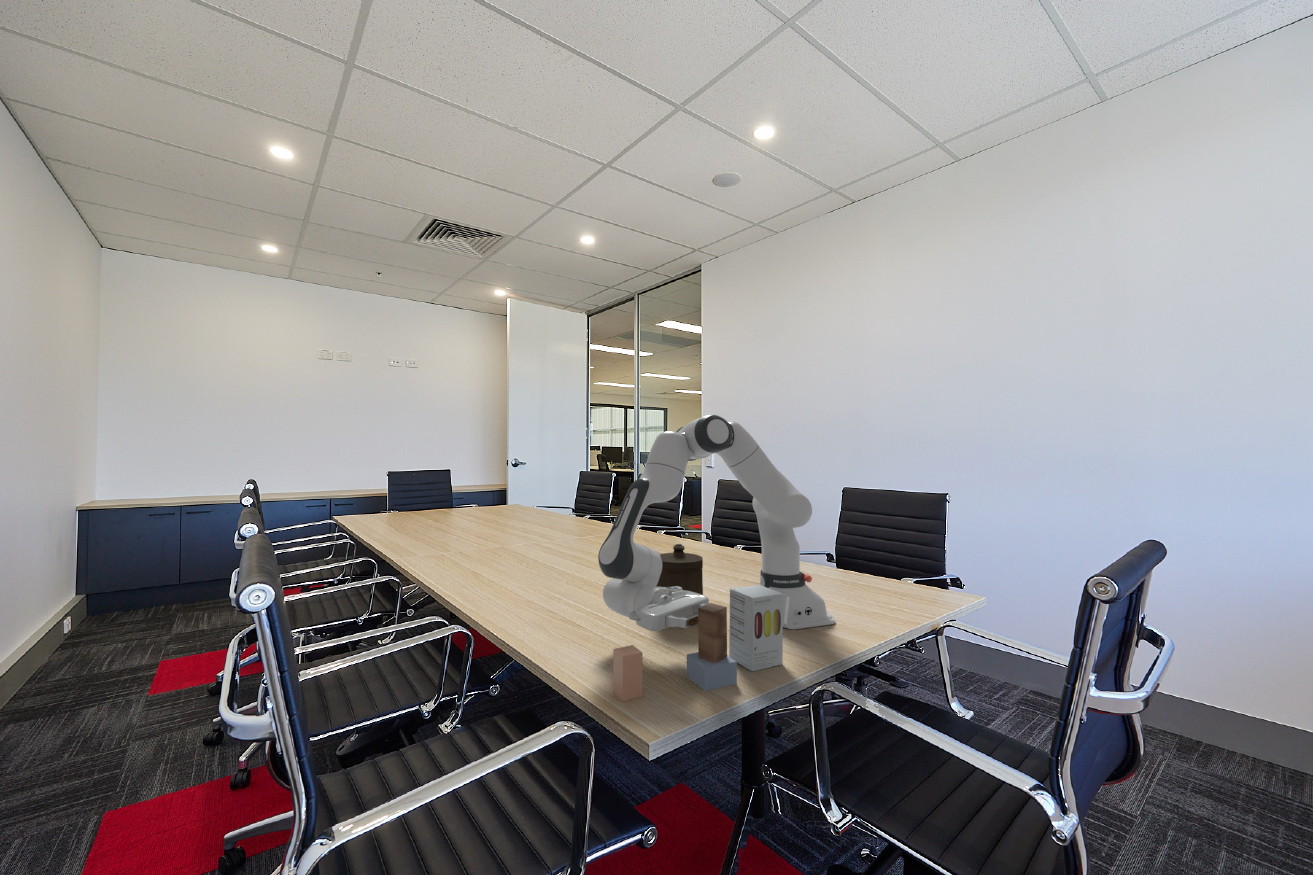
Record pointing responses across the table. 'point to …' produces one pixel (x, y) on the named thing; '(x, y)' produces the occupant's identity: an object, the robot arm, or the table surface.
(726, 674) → the slate block
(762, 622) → the supplement box
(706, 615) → the walnut post
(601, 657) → the table surface
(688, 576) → the wooden container
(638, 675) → the terracotta post
